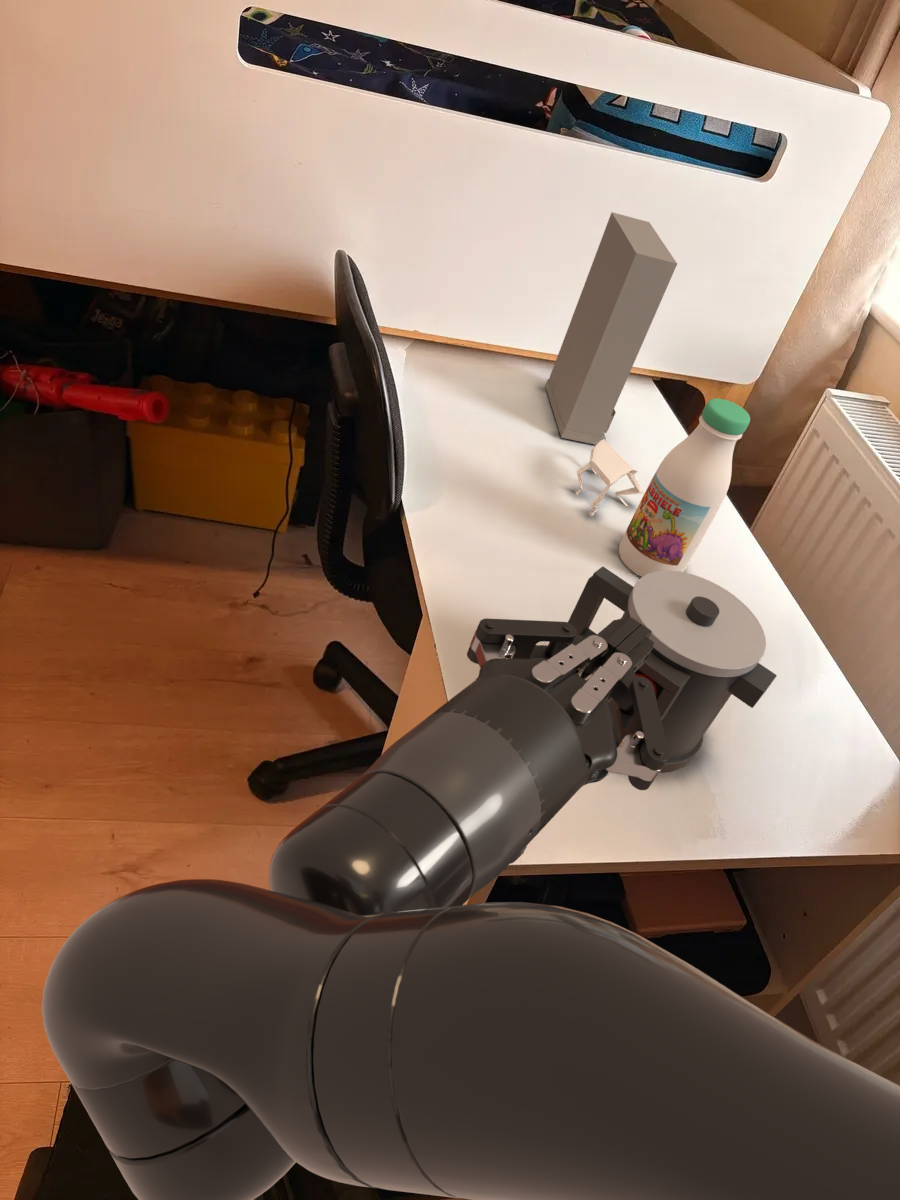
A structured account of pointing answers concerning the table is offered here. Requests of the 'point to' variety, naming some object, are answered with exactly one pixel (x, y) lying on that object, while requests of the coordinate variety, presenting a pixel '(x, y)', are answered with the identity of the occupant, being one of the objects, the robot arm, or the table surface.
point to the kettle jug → (685, 649)
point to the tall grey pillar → (608, 327)
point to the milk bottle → (685, 493)
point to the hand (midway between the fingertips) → (636, 634)
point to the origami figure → (609, 471)
